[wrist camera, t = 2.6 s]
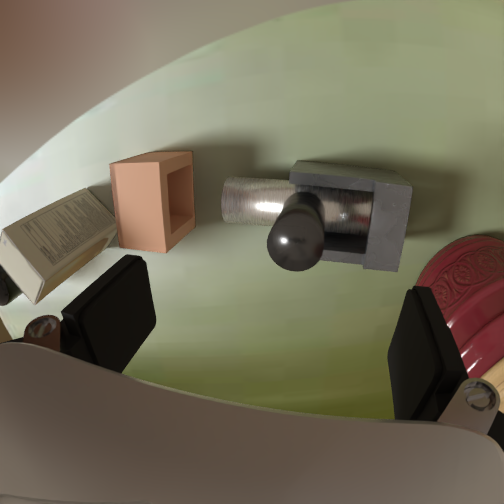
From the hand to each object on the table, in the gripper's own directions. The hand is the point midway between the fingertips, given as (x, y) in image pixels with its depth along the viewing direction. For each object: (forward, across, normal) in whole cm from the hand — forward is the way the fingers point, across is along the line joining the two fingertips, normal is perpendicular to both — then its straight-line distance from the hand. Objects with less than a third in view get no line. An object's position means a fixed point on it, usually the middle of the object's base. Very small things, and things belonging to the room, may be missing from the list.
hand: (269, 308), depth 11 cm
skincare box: (+17, +22, +4) cm, 28 cm away
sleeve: (+17, -3, +1) cm, 17 cm away
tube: (+17, 0, +1) cm, 17 cm away
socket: (+17, +12, +1) cm, 21 cm away
